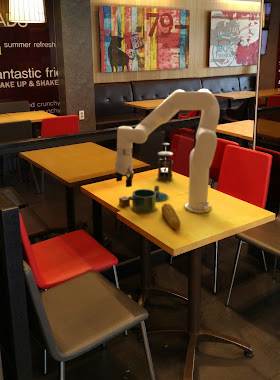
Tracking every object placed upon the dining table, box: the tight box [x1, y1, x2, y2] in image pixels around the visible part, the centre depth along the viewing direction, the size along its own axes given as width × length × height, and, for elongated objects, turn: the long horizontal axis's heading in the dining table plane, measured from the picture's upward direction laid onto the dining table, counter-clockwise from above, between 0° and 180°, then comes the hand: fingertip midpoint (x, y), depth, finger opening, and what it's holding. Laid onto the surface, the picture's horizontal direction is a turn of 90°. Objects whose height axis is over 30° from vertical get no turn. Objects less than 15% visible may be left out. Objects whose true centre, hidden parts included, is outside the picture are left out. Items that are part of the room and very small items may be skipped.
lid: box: [153, 185, 169, 202], centre depth 212 cm, size 12×12×7 cm
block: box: [118, 196, 131, 209], centre depth 202 cm, size 4×4×4 cm
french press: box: [156, 142, 174, 183], centre depth 241 cm, size 12×9×23 cm
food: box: [161, 203, 181, 230], centre depth 183 cm, size 21×6×6 cm, turn 12°
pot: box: [127, 188, 160, 214], centre depth 197 cm, size 11×17×8 cm
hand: (123, 183), depth 200 cm, fingers open, 9 cm apart
